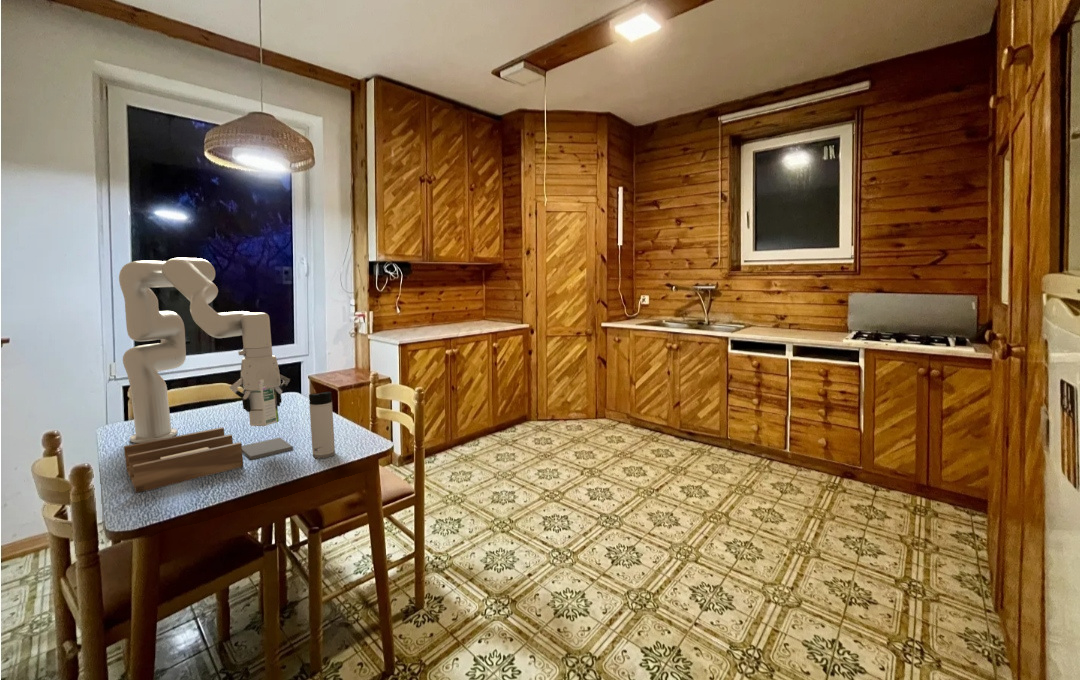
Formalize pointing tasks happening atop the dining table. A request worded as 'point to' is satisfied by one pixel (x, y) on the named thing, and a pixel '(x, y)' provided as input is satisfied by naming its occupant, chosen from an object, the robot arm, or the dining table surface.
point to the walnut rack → (181, 458)
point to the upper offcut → (184, 452)
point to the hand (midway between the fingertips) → (262, 407)
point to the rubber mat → (266, 448)
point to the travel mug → (322, 425)
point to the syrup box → (263, 406)
